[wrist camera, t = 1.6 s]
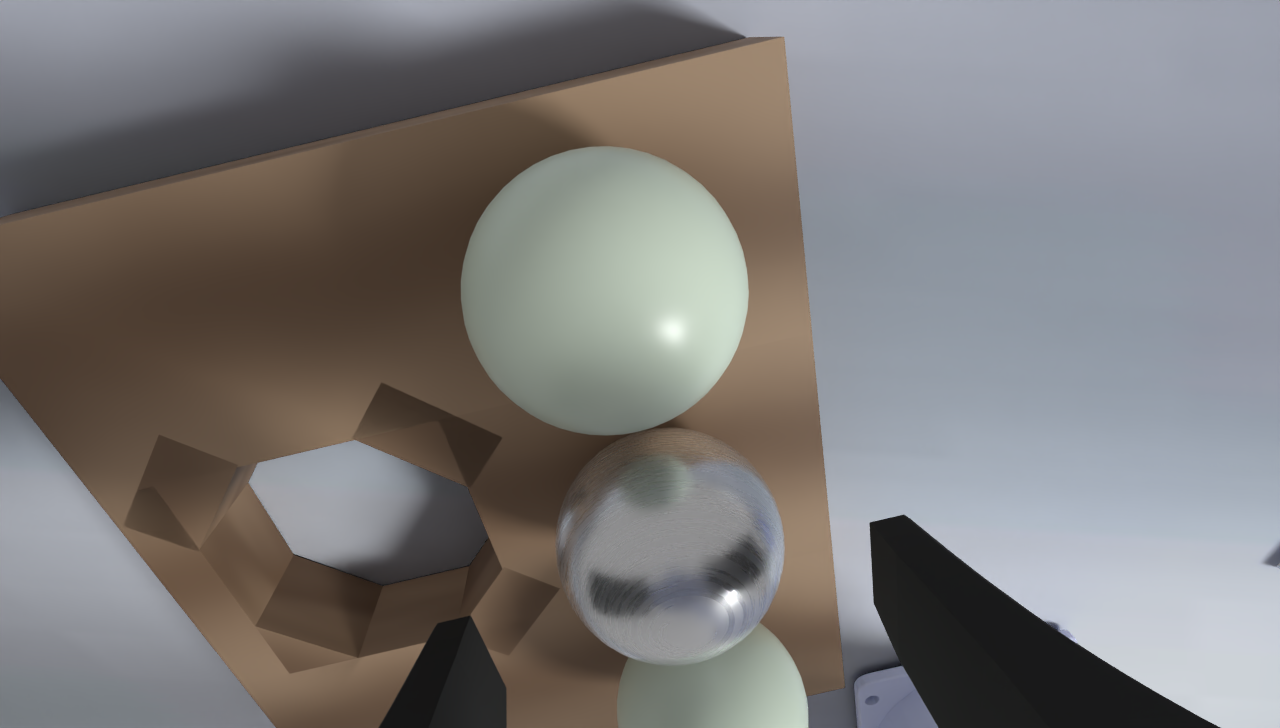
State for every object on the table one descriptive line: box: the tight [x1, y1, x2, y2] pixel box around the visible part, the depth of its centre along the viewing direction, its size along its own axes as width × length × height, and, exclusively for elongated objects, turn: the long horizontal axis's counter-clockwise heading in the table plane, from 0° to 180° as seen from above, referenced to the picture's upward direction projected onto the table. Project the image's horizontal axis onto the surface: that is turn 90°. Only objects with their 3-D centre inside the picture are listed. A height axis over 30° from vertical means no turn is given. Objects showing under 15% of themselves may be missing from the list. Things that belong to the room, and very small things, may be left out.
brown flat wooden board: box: [0, 37, 845, 728], centre depth 16 cm, size 18×16×2 cm
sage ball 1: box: [461, 146, 749, 436], centre depth 10 cm, size 5×5×5 cm
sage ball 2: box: [617, 623, 808, 728], centre depth 15 cm, size 5×5×5 cm
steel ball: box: [555, 428, 785, 666], centre depth 13 cm, size 5×5×5 cm
